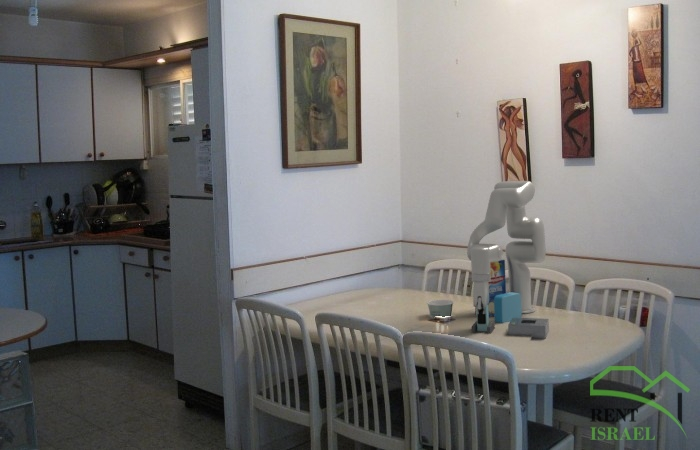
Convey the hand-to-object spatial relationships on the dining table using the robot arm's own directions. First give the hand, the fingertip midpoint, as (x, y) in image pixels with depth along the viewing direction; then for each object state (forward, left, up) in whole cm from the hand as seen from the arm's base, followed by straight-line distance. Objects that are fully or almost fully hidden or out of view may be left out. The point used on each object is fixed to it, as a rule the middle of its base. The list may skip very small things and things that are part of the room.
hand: (482, 322), depth 293 cm
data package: (-19, +7, -5) cm, 21 cm away
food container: (-26, -24, -5) cm, 36 cm away
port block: (0, +18, -4) cm, 19 cm away
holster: (0, 0, -4) cm, 4 cm away
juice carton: (-34, -3, -4) cm, 34 cm away
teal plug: (0, 0, -3) cm, 3 cm away
